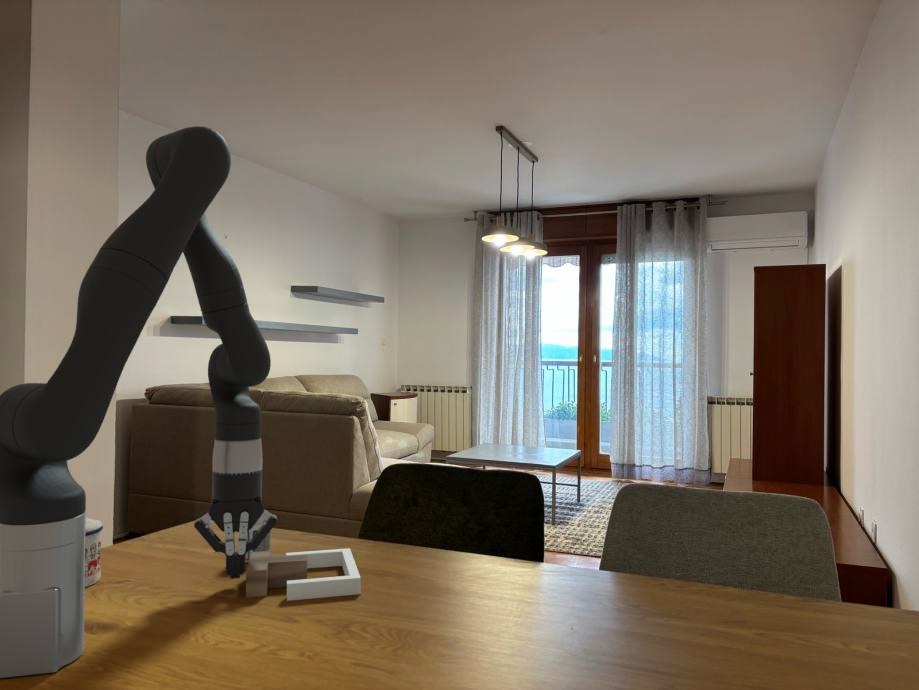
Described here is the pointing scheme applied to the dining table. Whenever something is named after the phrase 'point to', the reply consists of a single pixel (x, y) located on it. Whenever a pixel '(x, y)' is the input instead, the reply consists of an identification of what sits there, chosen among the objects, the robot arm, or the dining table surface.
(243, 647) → the dining table surface
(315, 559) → the pocket
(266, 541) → the pill bottle
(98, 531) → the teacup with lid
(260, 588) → the t block
